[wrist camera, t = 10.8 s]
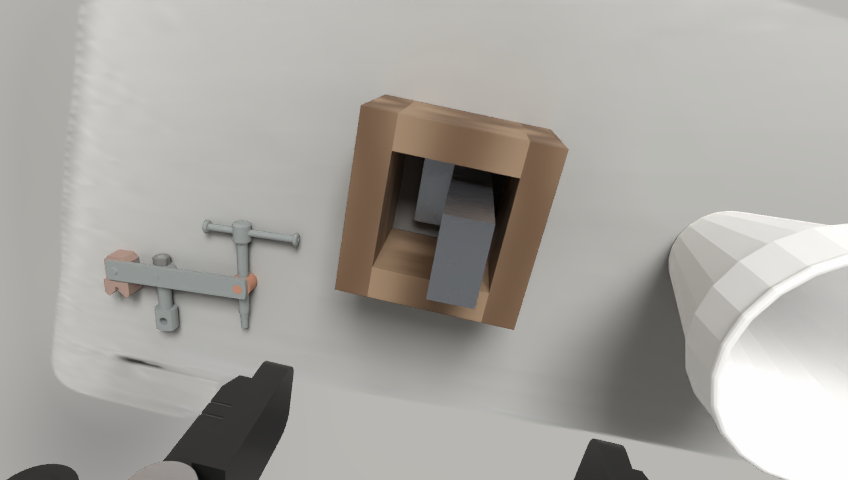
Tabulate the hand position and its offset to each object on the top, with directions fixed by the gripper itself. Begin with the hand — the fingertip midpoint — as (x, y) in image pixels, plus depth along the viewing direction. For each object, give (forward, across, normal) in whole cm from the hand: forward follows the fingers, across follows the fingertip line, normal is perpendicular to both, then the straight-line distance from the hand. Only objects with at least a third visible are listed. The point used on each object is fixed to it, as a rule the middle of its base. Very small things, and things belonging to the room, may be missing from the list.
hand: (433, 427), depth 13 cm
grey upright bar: (+23, +1, 0) cm, 23 cm away
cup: (+23, -18, 0) cm, 29 cm away
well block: (+23, +1, 0) cm, 23 cm away
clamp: (+23, +18, +11) cm, 31 cm away
